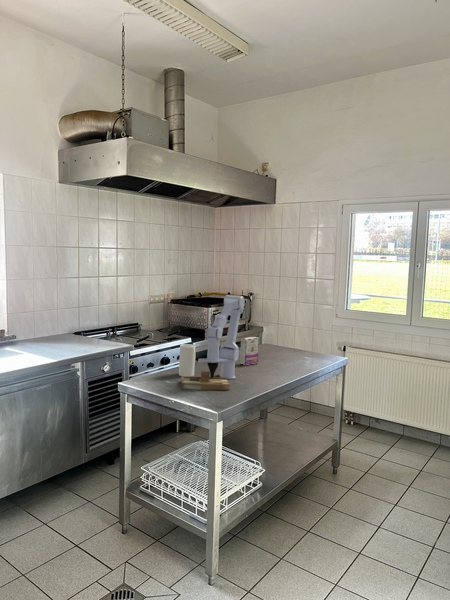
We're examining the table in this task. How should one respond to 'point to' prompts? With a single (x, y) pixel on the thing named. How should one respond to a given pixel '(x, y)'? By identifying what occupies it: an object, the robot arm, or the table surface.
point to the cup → (187, 360)
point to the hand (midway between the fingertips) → (211, 377)
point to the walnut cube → (204, 376)
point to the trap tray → (205, 383)
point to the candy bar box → (249, 350)
